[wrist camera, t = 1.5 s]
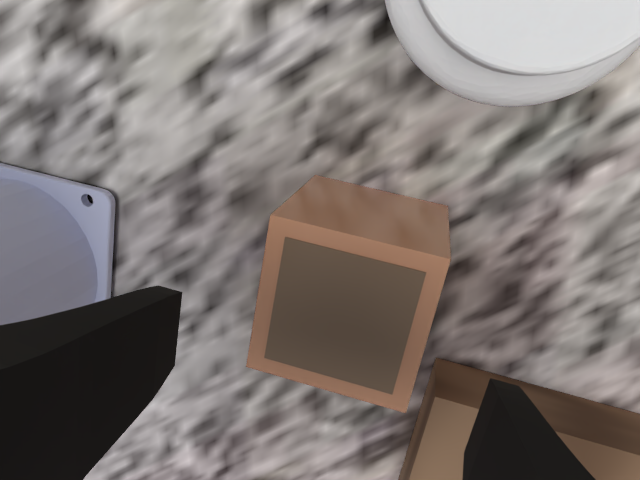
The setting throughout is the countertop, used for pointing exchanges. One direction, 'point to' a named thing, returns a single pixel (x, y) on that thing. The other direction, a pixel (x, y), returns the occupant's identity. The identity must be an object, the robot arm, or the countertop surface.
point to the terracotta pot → (350, 290)
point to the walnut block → (556, 407)
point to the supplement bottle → (516, 45)
